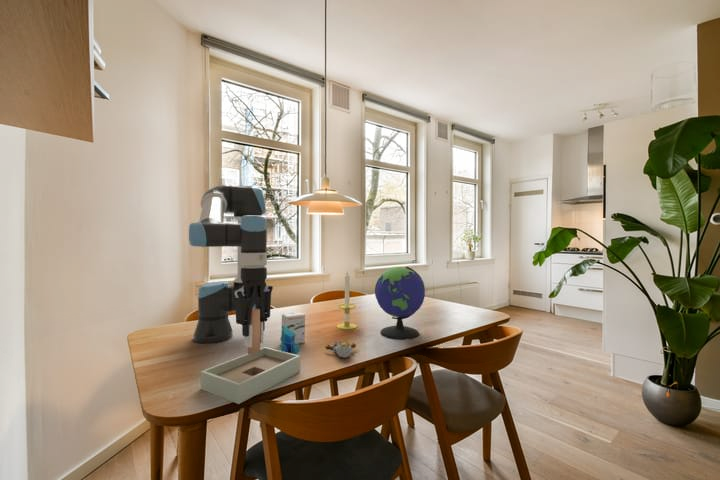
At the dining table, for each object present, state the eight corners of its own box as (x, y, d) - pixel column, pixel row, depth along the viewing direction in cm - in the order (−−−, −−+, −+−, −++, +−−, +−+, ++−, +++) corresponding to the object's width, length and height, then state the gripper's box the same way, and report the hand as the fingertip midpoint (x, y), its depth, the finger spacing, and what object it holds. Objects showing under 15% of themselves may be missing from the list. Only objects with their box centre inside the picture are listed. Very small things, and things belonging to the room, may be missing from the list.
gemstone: (276, 364, 111) (276, 328, 111) (281, 354, 119) (281, 322, 119) (298, 363, 111) (298, 328, 111) (301, 354, 120) (302, 321, 120)
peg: (244, 353, 98) (244, 309, 98) (254, 349, 101) (254, 307, 101) (253, 355, 96) (253, 310, 96) (262, 351, 99) (262, 308, 99)
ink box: (285, 346, 128) (285, 316, 128) (280, 342, 133) (281, 313, 132) (305, 342, 133) (305, 313, 133) (300, 339, 137) (300, 311, 137)
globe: (385, 324, 161) (385, 263, 160) (430, 330, 151) (430, 265, 151) (366, 337, 141) (366, 267, 140) (416, 344, 131) (417, 270, 131)
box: (200, 389, 92) (200, 371, 92) (264, 361, 113) (264, 346, 113) (238, 404, 84) (238, 384, 84) (300, 371, 105) (300, 355, 105)
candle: (357, 329, 152) (357, 271, 151) (335, 329, 152) (335, 271, 151) (357, 323, 161) (357, 269, 161) (337, 323, 162) (337, 269, 161)
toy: (352, 335, 131) (362, 343, 116) (353, 349, 130) (362, 358, 116) (323, 337, 128) (328, 345, 113) (323, 351, 127) (328, 361, 113)
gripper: (239, 269, 89) (239, 355, 89) (282, 265, 103) (282, 339, 104) (221, 268, 93) (221, 350, 93) (265, 264, 107) (265, 335, 107)
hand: (253, 344), depth 98 cm, fingers closed on peg, 3 cm apart
